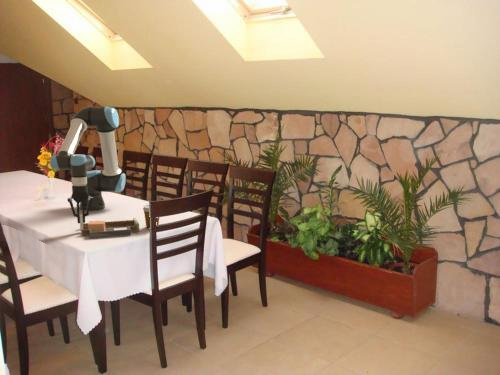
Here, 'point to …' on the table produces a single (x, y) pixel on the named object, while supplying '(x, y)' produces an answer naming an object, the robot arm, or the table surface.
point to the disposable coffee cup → (147, 218)
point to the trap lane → (112, 229)
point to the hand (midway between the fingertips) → (81, 228)
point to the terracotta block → (96, 226)
